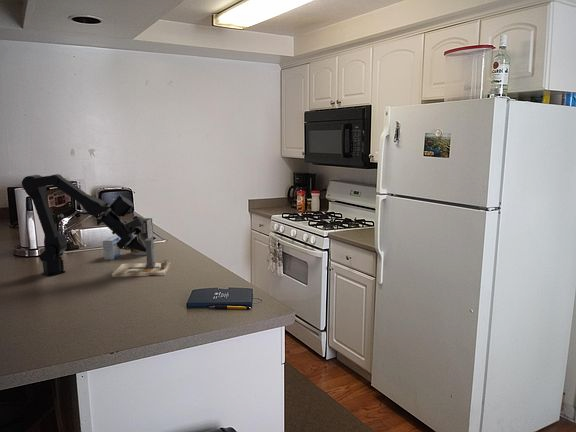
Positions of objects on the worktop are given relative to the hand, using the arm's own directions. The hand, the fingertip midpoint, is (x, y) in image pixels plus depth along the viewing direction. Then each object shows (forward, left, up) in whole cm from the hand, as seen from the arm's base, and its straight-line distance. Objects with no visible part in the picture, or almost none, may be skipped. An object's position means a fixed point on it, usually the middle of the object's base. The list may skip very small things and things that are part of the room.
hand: (146, 251), depth 183 cm
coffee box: (+19, +24, -8) cm, 32 cm away
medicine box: (+7, +30, -8) cm, 32 cm away
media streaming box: (+29, +40, -9) cm, 50 cm away
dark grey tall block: (+1, -1, -6) cm, 7 cm away
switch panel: (-1, +2, -8) cm, 8 cm away
